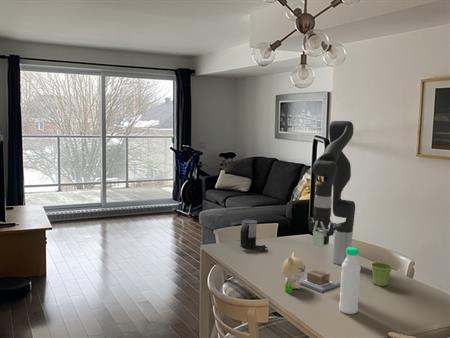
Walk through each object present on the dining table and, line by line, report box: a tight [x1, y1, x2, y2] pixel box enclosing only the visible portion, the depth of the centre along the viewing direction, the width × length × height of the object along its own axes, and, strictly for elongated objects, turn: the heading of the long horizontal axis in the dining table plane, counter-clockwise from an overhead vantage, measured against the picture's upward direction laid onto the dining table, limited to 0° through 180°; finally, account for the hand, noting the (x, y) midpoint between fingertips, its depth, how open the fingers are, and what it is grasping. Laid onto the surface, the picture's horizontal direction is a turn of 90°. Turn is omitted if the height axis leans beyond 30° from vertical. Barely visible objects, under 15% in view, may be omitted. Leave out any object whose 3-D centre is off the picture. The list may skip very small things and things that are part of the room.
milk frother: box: [240, 219, 268, 251], centre depth 257 cm, size 14×16×15 cm
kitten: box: [281, 251, 306, 294], centre depth 196 cm, size 15×10×15 cm
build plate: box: [299, 276, 341, 293], centre depth 202 cm, size 14×14×1 cm
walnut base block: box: [306, 269, 330, 286], centre depth 202 cm, size 7×7×4 cm
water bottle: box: [338, 246, 362, 315], centre depth 173 cm, size 7×7×25 cm
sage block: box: [312, 229, 330, 248], centre depth 200 cm, size 5×5×6 cm
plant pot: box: [370, 262, 393, 287], centre depth 205 cm, size 9×9×9 cm
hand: (320, 242), depth 200 cm, fingers closed on sage block, 5 cm apart
